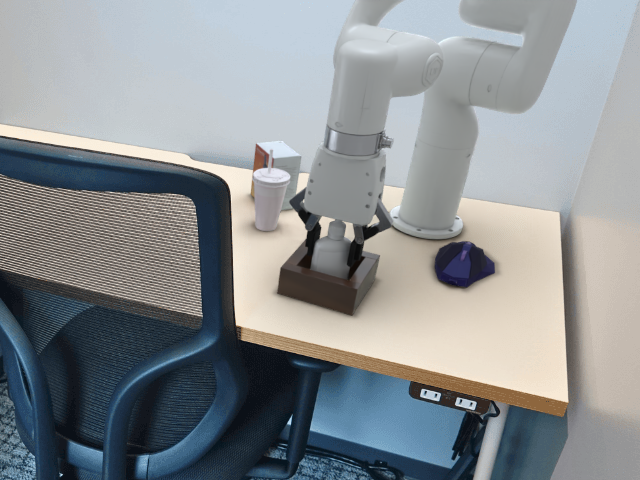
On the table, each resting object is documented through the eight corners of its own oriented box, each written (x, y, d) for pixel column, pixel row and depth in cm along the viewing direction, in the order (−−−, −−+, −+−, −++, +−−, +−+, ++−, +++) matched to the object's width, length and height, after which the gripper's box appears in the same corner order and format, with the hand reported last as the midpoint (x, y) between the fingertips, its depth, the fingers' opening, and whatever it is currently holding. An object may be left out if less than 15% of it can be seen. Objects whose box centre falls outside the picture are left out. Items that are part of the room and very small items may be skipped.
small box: (249, 195, 133) (254, 142, 127) (276, 191, 135) (282, 139, 129) (267, 212, 127) (273, 158, 121) (294, 209, 129) (302, 154, 123)
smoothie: (260, 214, 126) (268, 140, 118) (290, 225, 123) (301, 149, 115) (240, 227, 122) (247, 150, 114) (271, 238, 119) (281, 160, 111)
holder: (304, 260, 113) (307, 236, 110) (374, 280, 108) (380, 254, 105) (276, 293, 104) (280, 267, 102) (352, 315, 100) (357, 289, 97)
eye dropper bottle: (342, 297, 103) (356, 225, 97) (305, 289, 105) (316, 218, 98) (347, 283, 107) (361, 212, 100) (311, 276, 109) (323, 205, 102)
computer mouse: (501, 256, 115) (508, 235, 112) (485, 297, 104) (493, 274, 102) (443, 242, 118) (449, 221, 116) (422, 280, 108) (428, 258, 106)
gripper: (424, 143, 92) (395, 262, 102) (302, 120, 99) (287, 233, 109) (410, 161, 87) (382, 284, 97) (282, 135, 94) (268, 253, 104)
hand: (332, 256), depth 103 cm, fingers closed on eye dropper bottle, 5 cm apart
